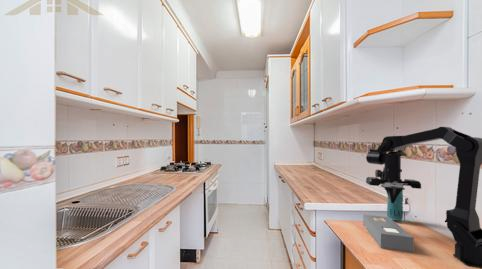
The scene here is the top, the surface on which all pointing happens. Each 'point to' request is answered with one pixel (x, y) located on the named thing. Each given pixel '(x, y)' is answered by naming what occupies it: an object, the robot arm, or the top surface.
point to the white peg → (390, 230)
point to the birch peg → (379, 219)
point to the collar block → (388, 234)
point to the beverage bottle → (395, 208)
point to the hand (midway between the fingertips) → (392, 203)
